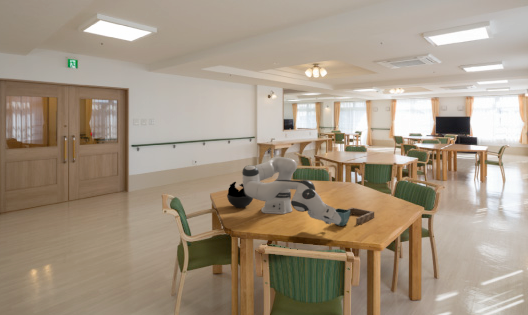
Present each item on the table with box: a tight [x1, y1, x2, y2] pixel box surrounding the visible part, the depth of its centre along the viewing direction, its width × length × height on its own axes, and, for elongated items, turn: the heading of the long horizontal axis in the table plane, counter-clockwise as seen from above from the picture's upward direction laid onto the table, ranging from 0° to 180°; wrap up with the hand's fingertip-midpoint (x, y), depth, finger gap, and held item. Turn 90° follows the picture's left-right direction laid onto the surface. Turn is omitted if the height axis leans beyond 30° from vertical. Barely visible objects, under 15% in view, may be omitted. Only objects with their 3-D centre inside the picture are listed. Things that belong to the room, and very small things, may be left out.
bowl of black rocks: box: [226, 181, 254, 209], centre depth 245 cm, size 20×20×19 cm
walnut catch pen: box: [346, 207, 375, 226], centre depth 216 cm, size 22×16×4 cm
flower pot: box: [335, 208, 351, 227], centre depth 203 cm, size 9×9×9 cm
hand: (328, 223), depth 193 cm, fingers closed
